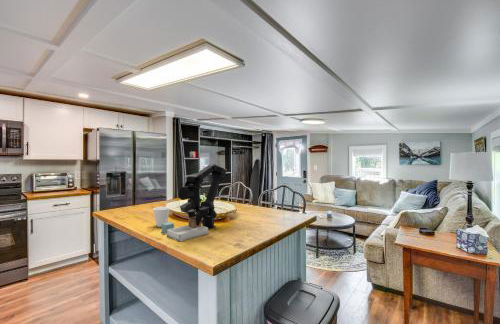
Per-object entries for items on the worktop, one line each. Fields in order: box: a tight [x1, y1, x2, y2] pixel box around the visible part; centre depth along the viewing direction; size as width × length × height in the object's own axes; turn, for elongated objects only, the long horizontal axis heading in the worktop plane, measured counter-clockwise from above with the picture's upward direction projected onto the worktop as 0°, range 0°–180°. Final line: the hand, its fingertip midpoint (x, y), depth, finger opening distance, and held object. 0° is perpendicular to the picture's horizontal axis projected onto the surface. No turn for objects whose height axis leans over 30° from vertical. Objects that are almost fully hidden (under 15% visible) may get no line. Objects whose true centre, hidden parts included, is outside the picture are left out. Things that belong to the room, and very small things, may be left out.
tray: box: [166, 224, 209, 242], centre depth 139 cm, size 18×13×4 cm
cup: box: [152, 206, 171, 228], centre depth 157 cm, size 10×10×11 cm
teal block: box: [161, 221, 175, 235], centre depth 144 cm, size 5×5×5 cm
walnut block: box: [188, 217, 202, 228], centre depth 142 cm, size 5×5×5 cm
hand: (194, 224), depth 142 cm, fingers closed on walnut block, 5 cm apart
